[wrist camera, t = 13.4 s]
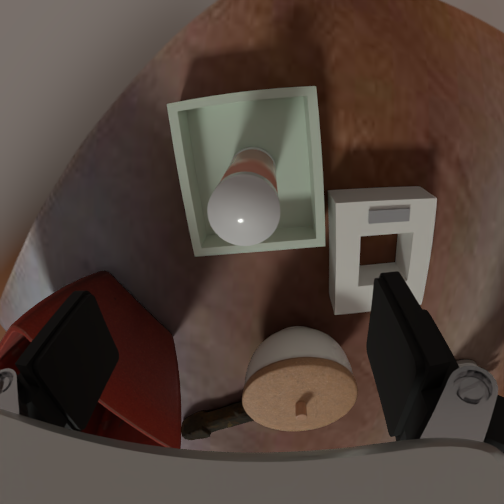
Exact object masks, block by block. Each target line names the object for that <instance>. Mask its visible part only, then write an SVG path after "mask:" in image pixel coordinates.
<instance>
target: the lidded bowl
mask: <svg viewBox="0 0 504 504" xmlns="http://www.w3.org/2000/svg"><path fill="white" fill-rule="evenodd" d="M357 395H358V389H357V384H356V380H355V378H354V376H353V373H352V369H351V366H350V363H349V361H348V359H347V356H346V354H345V353H344V351H343V349H342V348H341V347H340V345H339V344H338V343H337V342H336V341H335V340H334V339H333V338H332V337H330V336H329V335H327V334H325V333H323V332H322V331H319V330H316V329H312V328H309V327H304V326H293V327H288V328H285V329H282V330H280V331H279V332H276V333H274V334H272V335H271V336H269V337H268V338H267V339H265V340H264V341H263V342H262V343H261V344H260V345H259V346H258V348H257V349H256V351H255V352H254V354H253V355H252V358H251V360H250V362H249V365H248V368H247V372H246V377H245V385H244V389H243V394H242V405H243V407H244V410H245V411H246V413H247V414H248V415H249V416H250V417H251V418H252V419H253V420H255V421H256V422H258V423H259V424H261V425H263V426H266V427H269V428H273V429H276V430H283V431H304V430H311V429H316V428H319V427H323V426H325V425H328V424H330V423H332V422H334V421H336V420H338V419H340V418H341V417H342V416H344V415H345V414H346V413H347V412H348V411H349V410H350V409H351V408H352V406H353V405H354V403H355V401H356V399H357Z"/></svg>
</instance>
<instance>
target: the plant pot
mask: <svg viewBox="0 0 504 504" xmlns="http://www.w3.org/2000/svg"><path fill="white" fill-rule="evenodd" d="M74 291H89V292H90V293H91V294H92V295H94V296H95V298H96V300H97V303H98V305H99V308H100V310H101V313H102V315H103V318H104V320H105V322H106V325H107V327H108V329H109V331H110V334H111V336H112V338H113V340H114V343H115V345H116V347H117V349H118V352H119V360H118V362H117V364H116V366H115V368H114V370H113V372H112V374H111V376H110V378H109V380H108V382H107V384H106V386H105V388H104V390H103V392H102V395H101V397H100V399H99V401H98V403H97V405H96V407H95V409H94V411H93V413H92V415H91V418H90V420H89V422H88V424H87V426H86V428H85V429H84V430H82V431H81V432H83V433H87V434H92V435H96V436H101V437H106V438H111V439H116V440H121V441H127V442H133V443H139V444H145V445H152V446H160V447H168V448H177V449H180V447H181V394H180V380H179V370H178V362H177V356H176V350H175V344H174V340H173V336H172V334H171V333H170V332H169V331H168V330H167V329H165V328H164V327H163V326H162V325H161V324H160V323H159V322H158V321H157V320H156V319H155V318H154V317H153V316H152V315H151V314H150V313H149V312H148V311H147V310H146V309H145V308H144V307H143V306H142V305H141V304H140V303H139V302H137V301H136V300H135V299H134V297H133V296H132V295H131V294H130V293H128V292H127V290H126V289H125V288H124V287H123V286H122V285H121V284H120V283H119V282H118V281H117V280H116V279H115V278H114V277H113V276H112V275H111V274H110V273H109V272H106V271H100V272H97V273H94V274H91V275H89V276H86V277H84V278H81V279H79V280H77V281H75V282H73V283H71V284H69V285H67V286H65V287H63V288H61V289H60V290H58V291H56V292H55V293H53V294H51V295H50V296H48V297H47V298H45V299H44V300H42V301H41V302H39V303H38V304H36V305H35V306H34V307H32V308H31V309H30V310H29V311H27V312H26V313H25V314H23V315H22V316H21V317H20V318H19V319H18V320H17V321H15V322H14V323H13V324H12V325H11V326H10V328H9V329H8V331H7V332H6V334H5V335H4V337H3V338H2V340H1V342H0V370H2V369H5V368H10V369H13V370H14V371H15V372H16V373H17V375H19V373H20V371H19V370H18V368H17V367H16V365H15V363H16V361H17V360H18V359H19V357H20V356H21V355H22V353H23V352H24V351H25V349H26V348H27V347H28V346H29V344H30V343H31V342H32V340H33V339H34V338H35V337H36V335H37V334H38V333H39V332H40V330H41V329H42V328H43V327H44V325H45V324H46V323H47V322H48V321H49V319H50V318H51V317H52V316H53V315H54V313H55V312H56V311H57V310H58V309H59V307H60V306H61V305H62V304H63V303H64V302H65V300H66V299H67V298H68V297H69V296H70V295H71V293H72V292H74Z"/></svg>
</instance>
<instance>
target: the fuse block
mask: <svg viewBox="0 0 504 504" xmlns="http://www.w3.org/2000/svg"><path fill="white" fill-rule="evenodd" d="M436 204H437V198H436V197H435V196H433V195H432V194H430V193H429V192H427V191H426V190H425V189H423V188H422V187H420V186H408V187H380V188H359V189H341V190H328V214H329V296H330V300H331V303H332V307H333V311H334V315H341V314H351V313H360V312H368V311H371V305H372V295H373V285H374V279H375V278H379V276H380V274H381V273H384V272H395V271H398V272H399V273H400V274H401V276H402V277H403V279H404V280H405V282H406V284H407V285H408V287H409V288H410V290H411V292H412V293H413V295H414V297H415V298H416V300H417V301H418V303H419V305H421V304H422V300H423V295H424V290H425V285H426V279H427V273H428V268H429V261H430V255H431V248H432V241H433V233H434V224H435V215H436ZM385 234H398V237H397V248H396V258H395V262H392V263H382V264H371V265H361V266H359V262H360V238H361V236H372V235H385Z"/></svg>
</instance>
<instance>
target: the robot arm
mask: <svg viewBox="0 0 504 504" xmlns="http://www.w3.org/2000/svg"><path fill="white" fill-rule="evenodd" d="M367 354H368V358H369V361H370V365H371V368H372V371H373V375H374V379H375V382H376V386H377V389H378V393H379V397H380V400H381V404H382V408H383V412H384V416H385V420H386V424H387V428H388V432H389V435H390V436H391V437H393V436H395V437H396V441H395V442H388V443H379V444H371V445H364V446H357V447H348V448H338V449H327V450H314V451H298V452H272V453H241V452H215V451H199V450H187V449H177V448H168V447H160V446H152V445H145V444H139V443H133V442H127V441H121V440H116V439H111V438H106V437H101V436H96V435H92V434H87V433H83V432H81V431H82V430H84V429H85V428H86V426H87V424H88V422H89V420H90V418H91V415H92V413H93V411H94V409H95V407H96V405H97V403H98V401H99V399H100V397H101V395H102V392H103V390H104V388H105V386H106V384H107V382H108V380H109V378H110V376H111V374H112V372H113V370H114V368H115V366H116V364H117V362H118V360H119V352H118V349H117V347H116V345H115V343H114V340H113V338H112V336H111V334H110V331H109V329H108V327H107V325H106V322H105V320H104V318H103V315H102V313H101V310H100V308H99V305H98V303H97V300H96V298H95V296H94V295H92V294H91V293H90V292H89V291H74V292H72V293H71V295H70V296H69V297H68V298H67V299H66V300H65V302H64V303H63V304H62V305H61V306H60V307H59V309H58V310H57V311H56V312H55V313H54V315H53V316H52V317H51V318H50V319H49V321H48V322H47V323H46V324H45V325H44V327H43V328H42V329H41V330H40V332H39V333H38V334H37V335H36V337H35V338H34V339H33V340H32V342H31V343H30V344H29V346H28V347H27V348H26V349H25V351H24V352H23V353H22V355H21V356H20V357H19V359H18V360H17V361H16V363H15V365H16V367H17V368H18V370H19V371H20V373H19V375H17V373H16V372H15V371H14V370H13V369H10V368H5V369H2V370H0V504H504V397H502V396H499V395H498V386H497V383H496V380H495V379H494V377H493V376H492V375H491V374H490V373H489V372H488V371H487V370H485V369H483V368H480V367H478V365H477V364H476V363H475V362H474V361H472V360H467V359H466V360H458V361H456V360H455V358H454V356H453V354H452V352H451V350H450V349H449V347H448V345H447V343H446V341H445V340H444V338H443V336H442V334H441V332H440V331H439V329H438V327H437V326H436V324H435V322H434V320H433V319H432V317H431V315H430V314H429V312H428V311H427V310H425V309H424V310H422V308H421V307H420V305H419V303H418V301H417V300H416V298H415V297H414V295H413V293H412V292H411V290H410V288H409V287H408V285H407V284H406V282H405V280H404V279H403V277H402V276H401V274H400V273H399V272H398V271H395V272H384V273H381V274H380V276H379V278H375V279H374V285H373V295H372V305H371V314H370V322H369V330H368V337H367Z"/></svg>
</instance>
